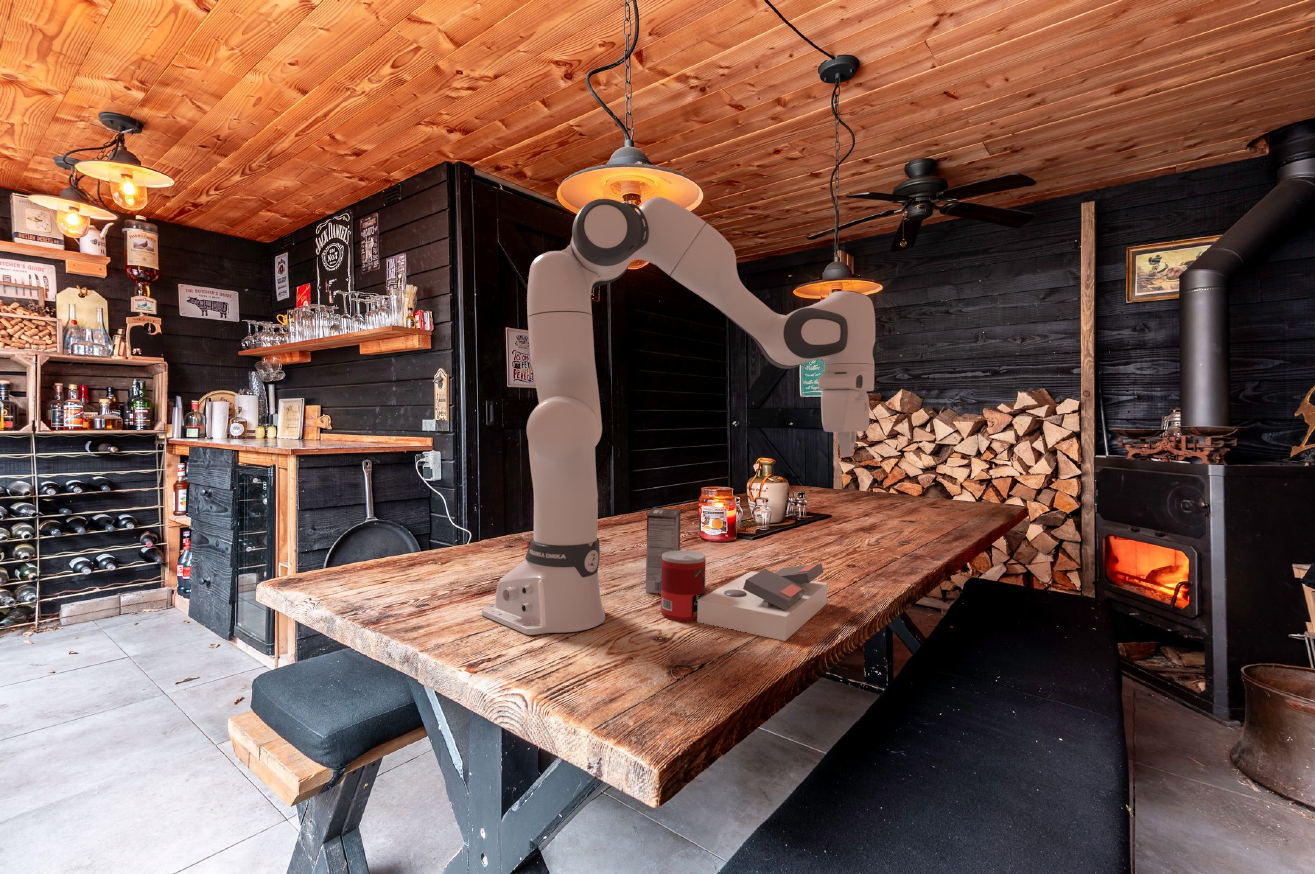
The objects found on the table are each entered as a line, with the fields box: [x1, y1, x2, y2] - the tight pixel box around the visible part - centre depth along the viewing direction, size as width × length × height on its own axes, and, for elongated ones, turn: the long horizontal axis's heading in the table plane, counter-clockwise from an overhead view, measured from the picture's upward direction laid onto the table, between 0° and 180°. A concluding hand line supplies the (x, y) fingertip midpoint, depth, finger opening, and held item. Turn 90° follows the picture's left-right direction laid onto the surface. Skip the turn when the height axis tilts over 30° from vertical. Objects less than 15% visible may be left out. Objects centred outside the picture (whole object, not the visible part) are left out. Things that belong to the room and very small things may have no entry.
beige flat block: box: [696, 570, 828, 642], centre depth 112 cm, size 16×24×5 cm, turn 149°
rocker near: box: [743, 568, 806, 610], centre depth 106 cm, size 8×9×2 cm
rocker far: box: [774, 562, 824, 584], centre depth 116 cm, size 8×9×2 cm
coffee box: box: [645, 507, 682, 595], centre depth 127 cm, size 9×6×16 cm
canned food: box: [660, 550, 707, 622], centre depth 110 cm, size 8×8×11 cm
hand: (846, 456), depth 112 cm, fingers closed
